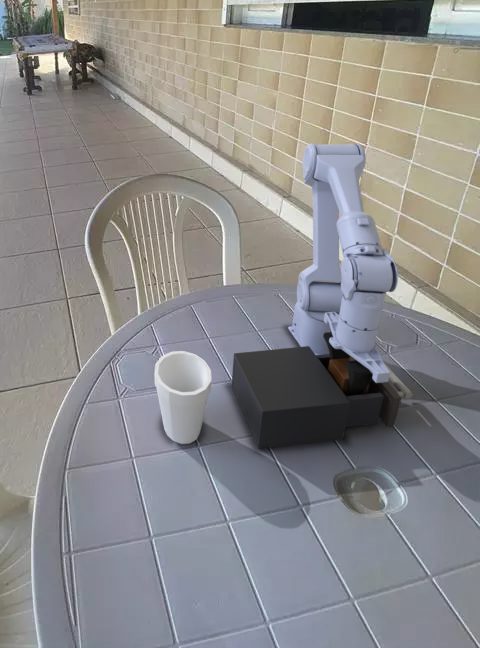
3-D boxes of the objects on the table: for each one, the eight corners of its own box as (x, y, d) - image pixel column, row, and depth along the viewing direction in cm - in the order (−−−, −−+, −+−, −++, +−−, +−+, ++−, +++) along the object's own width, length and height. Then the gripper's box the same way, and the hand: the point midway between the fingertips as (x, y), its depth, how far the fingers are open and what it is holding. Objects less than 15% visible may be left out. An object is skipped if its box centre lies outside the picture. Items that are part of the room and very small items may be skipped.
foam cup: (213, 414, 77) (216, 360, 73) (203, 461, 70) (205, 402, 65) (163, 398, 81) (163, 345, 77) (148, 440, 74) (146, 384, 69)
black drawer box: (303, 379, 83) (309, 345, 80) (342, 439, 71) (350, 402, 68) (231, 387, 83) (233, 353, 80) (258, 448, 71) (262, 411, 68)
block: (326, 377, 78) (329, 359, 76) (349, 375, 78) (353, 357, 76) (340, 398, 74) (344, 379, 72) (365, 395, 74) (369, 376, 72)
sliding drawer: (372, 372, 83) (378, 345, 80) (417, 424, 72) (426, 395, 70) (284, 381, 82) (288, 354, 80) (316, 435, 72) (322, 406, 69)
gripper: (311, 294, 77) (303, 352, 82) (363, 353, 64) (350, 418, 68) (349, 290, 77) (338, 348, 82) (409, 349, 64) (392, 414, 69)
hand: (346, 380), depth 75 cm, fingers closed on block, 4 cm apart
